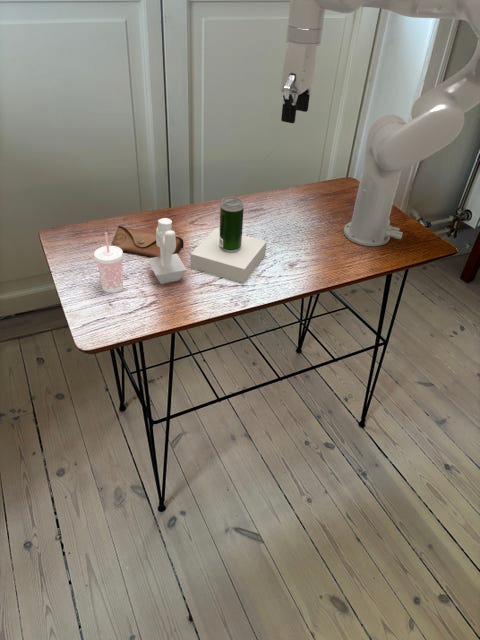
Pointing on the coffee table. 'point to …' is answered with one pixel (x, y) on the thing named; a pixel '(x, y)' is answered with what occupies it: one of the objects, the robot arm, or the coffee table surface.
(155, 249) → the sunglasses case
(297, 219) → the coffee table surface
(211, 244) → the riser block
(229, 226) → the beer can
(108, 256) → the beverage cup
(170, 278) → the figurine
